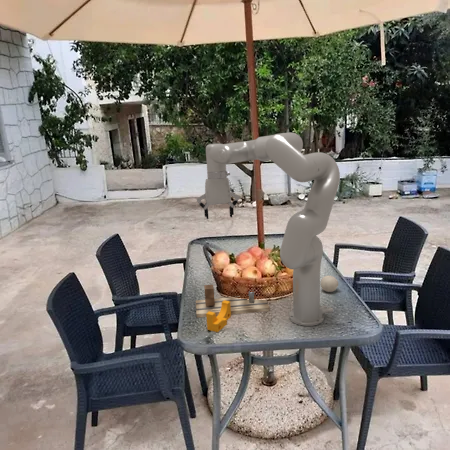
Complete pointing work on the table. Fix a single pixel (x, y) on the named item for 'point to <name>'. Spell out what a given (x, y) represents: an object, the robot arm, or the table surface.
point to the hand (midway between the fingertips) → (219, 217)
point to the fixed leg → (251, 297)
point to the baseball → (329, 283)
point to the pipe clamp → (219, 317)
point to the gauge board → (232, 306)
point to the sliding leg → (209, 295)
